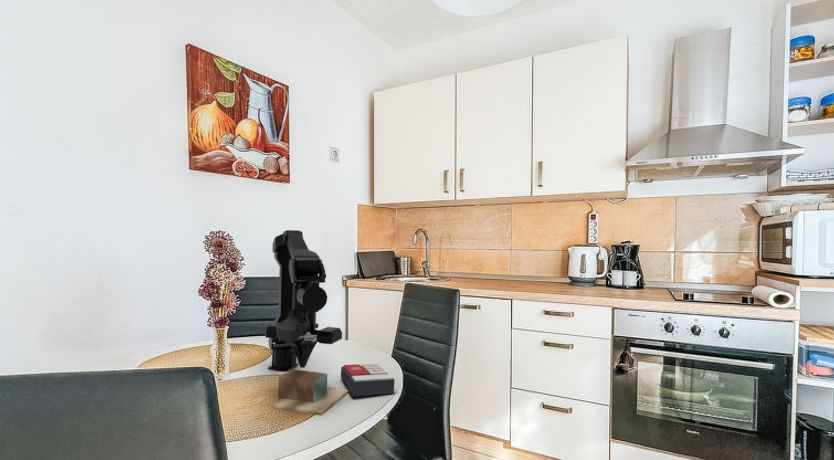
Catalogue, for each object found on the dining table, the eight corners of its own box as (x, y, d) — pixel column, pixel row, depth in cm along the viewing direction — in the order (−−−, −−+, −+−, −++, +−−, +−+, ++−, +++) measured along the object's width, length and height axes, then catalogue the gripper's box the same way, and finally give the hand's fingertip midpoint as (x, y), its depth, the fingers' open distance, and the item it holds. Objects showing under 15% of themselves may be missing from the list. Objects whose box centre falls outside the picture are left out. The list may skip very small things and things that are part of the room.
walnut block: (278, 376, 94) (314, 381, 92) (293, 369, 100) (327, 373, 97) (278, 397, 94) (314, 403, 91) (292, 388, 100) (326, 393, 97)
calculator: (378, 362, 113) (395, 376, 100) (377, 377, 113) (394, 393, 99) (341, 363, 109) (353, 378, 95) (340, 379, 109) (352, 396, 95)
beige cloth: (272, 407, 90) (272, 404, 90) (305, 385, 104) (305, 383, 104) (321, 415, 86) (321, 412, 87) (349, 392, 100) (349, 389, 100)
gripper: (251, 307, 91) (249, 373, 91) (321, 313, 86) (319, 383, 86) (280, 300, 102) (278, 359, 102) (343, 305, 97) (342, 367, 96)
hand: (302, 367), depth 96 cm, fingers closed
